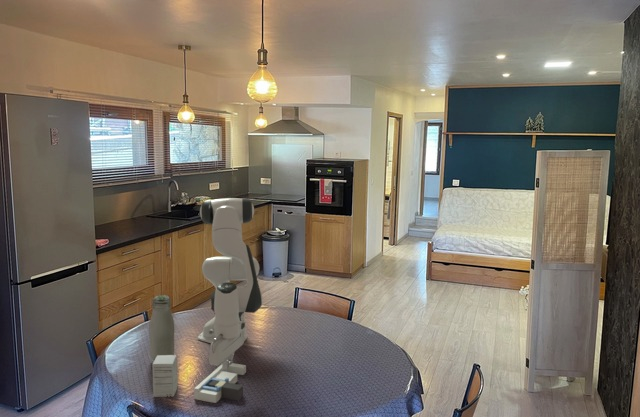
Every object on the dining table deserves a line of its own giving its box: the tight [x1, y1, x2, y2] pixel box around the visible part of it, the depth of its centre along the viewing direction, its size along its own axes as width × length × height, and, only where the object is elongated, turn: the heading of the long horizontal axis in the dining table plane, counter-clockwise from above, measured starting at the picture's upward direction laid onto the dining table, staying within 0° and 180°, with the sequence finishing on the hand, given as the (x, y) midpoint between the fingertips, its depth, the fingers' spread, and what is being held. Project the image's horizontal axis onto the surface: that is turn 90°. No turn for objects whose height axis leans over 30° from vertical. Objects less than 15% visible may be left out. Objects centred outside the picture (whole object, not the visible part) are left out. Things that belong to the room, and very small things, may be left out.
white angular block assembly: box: [193, 362, 247, 404], centre depth 180 cm, size 8×24×5 cm, turn 163°
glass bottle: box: [148, 294, 175, 362], centre depth 198 cm, size 10×10×28 cm
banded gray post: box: [208, 380, 244, 401], centre depth 173 cm, size 12×4×4 cm, turn 73°
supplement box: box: [151, 354, 179, 398], centre depth 174 cm, size 7×7×13 cm
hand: (227, 366), depth 172 cm, fingers closed
